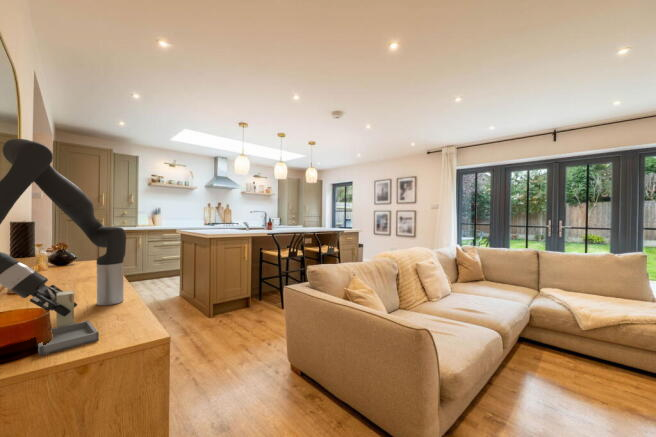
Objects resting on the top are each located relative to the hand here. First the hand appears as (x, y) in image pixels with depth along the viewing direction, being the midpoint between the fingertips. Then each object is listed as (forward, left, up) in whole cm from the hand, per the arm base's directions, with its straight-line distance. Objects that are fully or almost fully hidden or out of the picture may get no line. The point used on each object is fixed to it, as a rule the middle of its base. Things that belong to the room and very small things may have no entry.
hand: (71, 310), depth 94 cm
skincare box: (-1, -1, -6) cm, 6 cm away
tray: (+11, -2, -6) cm, 13 cm away
